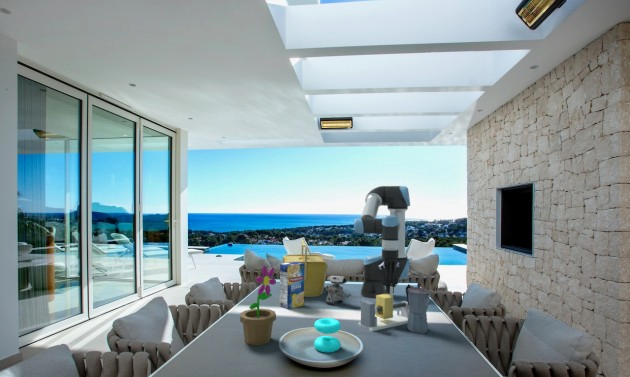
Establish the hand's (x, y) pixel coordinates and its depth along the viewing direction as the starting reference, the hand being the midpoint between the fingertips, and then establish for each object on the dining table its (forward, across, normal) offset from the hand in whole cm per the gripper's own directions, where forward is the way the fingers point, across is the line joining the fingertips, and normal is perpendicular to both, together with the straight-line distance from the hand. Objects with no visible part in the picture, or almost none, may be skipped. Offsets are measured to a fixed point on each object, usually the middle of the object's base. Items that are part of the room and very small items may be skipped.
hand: (389, 300), depth 164 cm
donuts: (+10, +40, +10) cm, 43 cm away
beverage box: (+10, +27, -45) cm, 54 cm away
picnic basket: (+10, +7, -68) cm, 69 cm away
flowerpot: (+10, +60, -10) cm, 62 cm away
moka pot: (+10, -4, +12) cm, 16 cm away
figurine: (+10, +4, -36) cm, 38 cm away
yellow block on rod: (+7, +3, 0) cm, 8 cm away
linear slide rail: (+10, +1, 0) cm, 10 cm away
